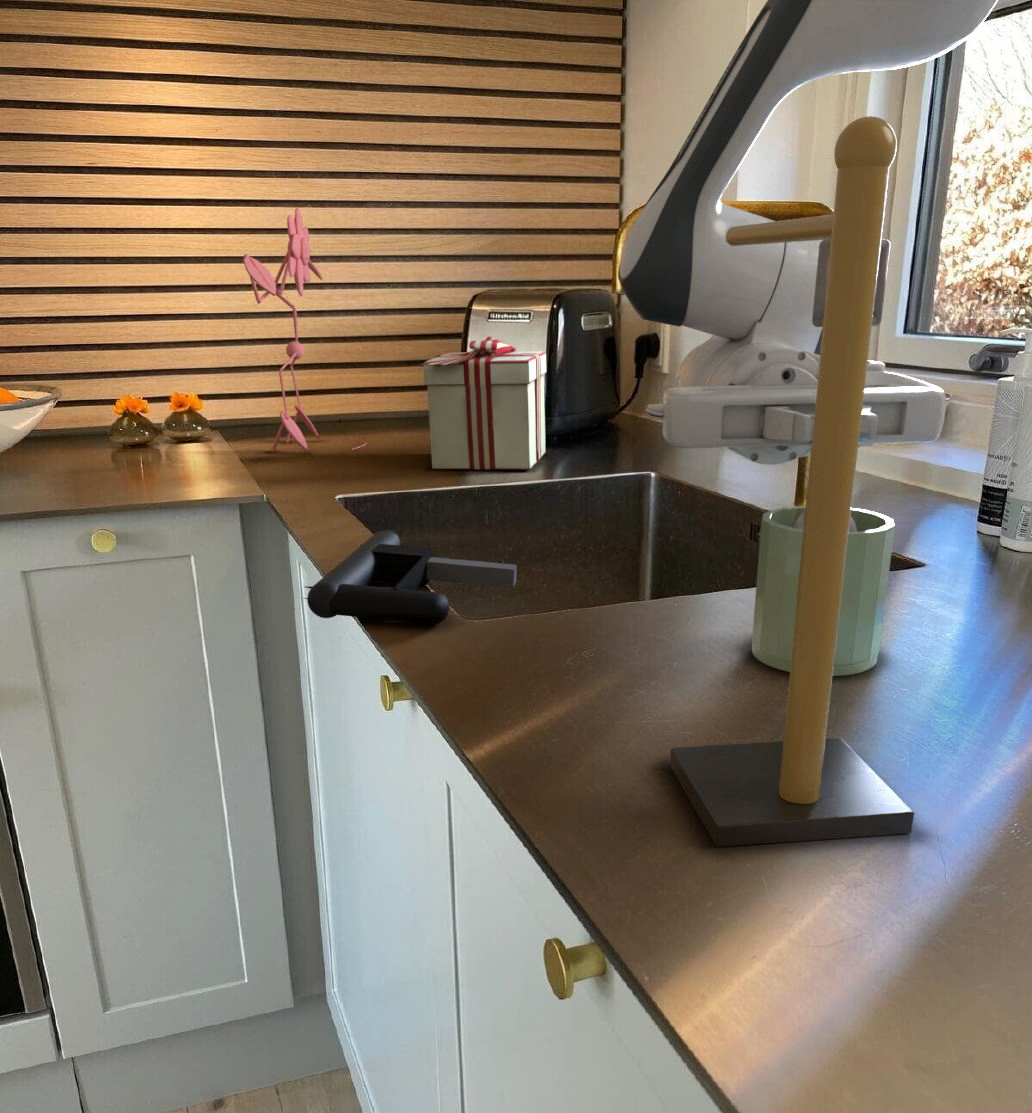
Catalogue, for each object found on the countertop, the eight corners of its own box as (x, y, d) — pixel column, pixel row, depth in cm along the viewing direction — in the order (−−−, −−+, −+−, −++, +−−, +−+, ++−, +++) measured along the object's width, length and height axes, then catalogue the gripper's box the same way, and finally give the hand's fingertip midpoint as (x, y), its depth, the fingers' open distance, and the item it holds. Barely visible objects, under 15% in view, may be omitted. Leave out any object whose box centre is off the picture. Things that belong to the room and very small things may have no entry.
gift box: (427, 452, 161) (423, 335, 155) (547, 453, 160) (547, 334, 153) (406, 472, 145) (400, 343, 139) (538, 473, 144) (538, 342, 137)
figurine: (251, 461, 156) (225, 203, 143) (292, 435, 180) (273, 212, 167) (353, 460, 155) (336, 201, 142) (381, 434, 179) (368, 211, 166)
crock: (846, 632, 80) (861, 503, 77) (898, 673, 72) (917, 531, 69) (735, 637, 80) (745, 507, 76) (776, 679, 71) (788, 536, 68)
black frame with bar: (526, 540, 98) (361, 525, 100) (489, 603, 80) (288, 584, 82) (524, 574, 100) (362, 559, 102) (487, 643, 81) (289, 623, 83)
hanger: (778, 691, 69) (826, 157, 58) (911, 833, 52) (1021, 108, 40) (630, 699, 68) (649, 157, 56) (716, 847, 51) (769, 106, 39)
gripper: (641, 365, 80) (690, 383, 67) (897, 360, 82) (992, 377, 69) (638, 449, 82) (685, 482, 69) (887, 442, 84) (977, 473, 71)
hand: (841, 430), depth 69 cm, fingers closed on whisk, 2 cm apart
